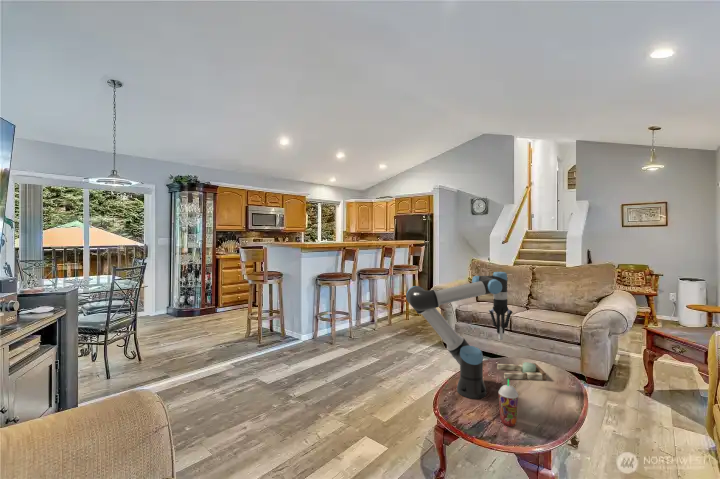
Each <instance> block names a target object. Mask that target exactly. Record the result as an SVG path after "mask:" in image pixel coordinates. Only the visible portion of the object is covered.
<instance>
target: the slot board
mask: <svg viewBox="0 0 720 479" xmlns="http://www.w3.org/2000/svg"><path fill="white" fill-rule="evenodd" d="M532 363H533V362H532ZM533 364H535V365H536V373H535V372H525V373H523V364H515V363H514V364H513V363H511V364H510V363H509V364H508V363H497V366H496V367H497V370H499V371H500V370H501V371H502V370H503V371H504V370H505V371H507V370H508V371H517V372H504V373H503V378H504V380H508V379H509V380H525V379H527V380H528V381H529V380H530V381H531V380H532V381H546V380H547V373H546V372H545V371H544V370H543V369H542V368H541V367H540V366H539V365H538V364H537V363H533ZM521 372H522V373H521Z"/></svg>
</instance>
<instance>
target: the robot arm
mask: <svg viewBox="0 0 720 479" xmlns="http://www.w3.org/2000/svg"><path fill="white" fill-rule="evenodd" d="M488 294H491V295H492V296H493V297H492V298H493V299H492V300H493V304H492V305H493V306H492V308H491V309H488V312H489V314H490V317H491V321H492V324H493V327H494V328H496V333H497V334H498V339H499V340H500V341H501V340H502V341H503V340H504V337H503V334H505V328H508V327H509V323H510V319H511V316H512V314H513V311H512V310H511V309H509V307H508V274H507V272H505V271H494V272H493V274H492V275H474V276H473V277H472V280H471V282H470V283H465V284H460V285H456V286H453V287H452V286H451V287H447V288H444V289H439V290H435V289H431V290H425V289H424V288H423V287H422V286H419V285H414V286H411V287H410V288H408V290H407V291H406V295H405V297H406V298H405V299H406V301H407V302H408V304H409V305H410V306H411V308H412V309H413V310H414V311H415V312H416V313H417V314H418V315H422V316H423V318H424V320H426V321H427V323H428V324H429V325H430V326H431V328H433V330H434V331H435V332H436V333H437V335H438V336H439V337H440V338H441V340H442V341H443V343H445V344H446V349H447V351H448V352H449V353H450V355H451V356H452V357H453V359H454V360H455V361H456V362H457V364H459V369H460V371H459V373H460V374H459V379H458V381H457V385H456V392H457V393H458V394H459V395H461V397H465V398H467V399H483V398H485V397H486V396H487V388H486V384H485V382H484V377H483V376H484V374H483V372H484V367H483V366H484V363H483V362H484V360H483V359H484V356H483V351H482V350H481V349H480V348H479V347H476V346H474V345H470V343H468V341H467V340H466V339H465V338H464V337H463V336H461V335H458V333H457V332H456V331H455V330H454V328H453V327H452V326H451V325H450V324H449V323H448V321H447V320H446V318H445V317H444V316H443V315H442V313H441V312H440V311H439V310H438V309H437V308H439V307H440V306H441V305H445V304H449V303H453V302H458V301H462V300H466V299H467V300H468V299H471V298H472V299H473V298H475V297H480V296H481V297H482V296H484V295H488ZM494 313H495V314H494ZM495 315H496V318H495Z"/></svg>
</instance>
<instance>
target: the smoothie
mask: <svg viewBox="0 0 720 479" xmlns="http://www.w3.org/2000/svg"><path fill="white" fill-rule="evenodd" d="M497 393H498V403H499V404H498V405H499V418H500V422H501V424H503V425H504V426H506V427H515V426H516V423H518V422H517V420H518V407H519V393H518V391H517V389H516V388H515V387H514V386H513V385H511V384H510V379H507V384H504V385H502V386H501V387H500V388H499V390H498V391H497Z"/></svg>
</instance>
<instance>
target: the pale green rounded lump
mask: <svg viewBox="0 0 720 479" xmlns="http://www.w3.org/2000/svg"><path fill="white" fill-rule="evenodd" d="M522 365H523V371H522V373H525V372H535V373H536V365H535V364H533V362H527V361H525V362H522Z"/></svg>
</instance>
